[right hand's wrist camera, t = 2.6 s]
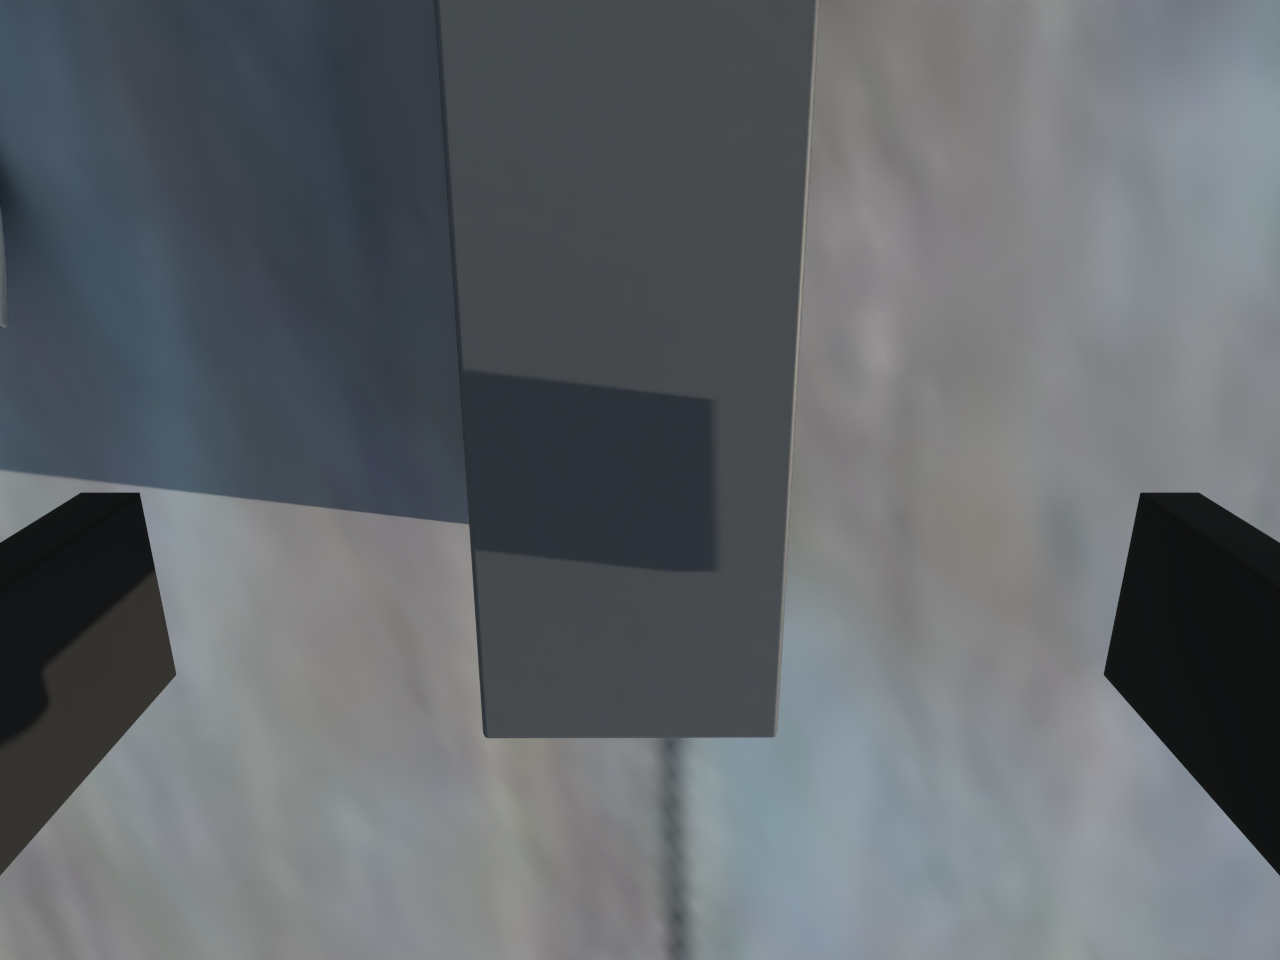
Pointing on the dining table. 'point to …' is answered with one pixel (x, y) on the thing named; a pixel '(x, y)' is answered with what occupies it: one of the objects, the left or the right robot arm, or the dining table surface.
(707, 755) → the dining table surface
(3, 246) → the fork
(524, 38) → the bar
